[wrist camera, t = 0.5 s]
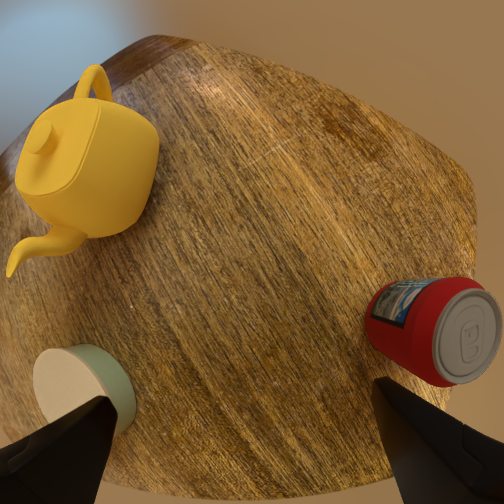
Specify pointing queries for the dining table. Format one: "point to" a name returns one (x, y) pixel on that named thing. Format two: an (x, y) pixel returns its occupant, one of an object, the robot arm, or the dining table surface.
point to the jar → (82, 382)
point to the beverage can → (436, 328)
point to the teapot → (85, 169)
